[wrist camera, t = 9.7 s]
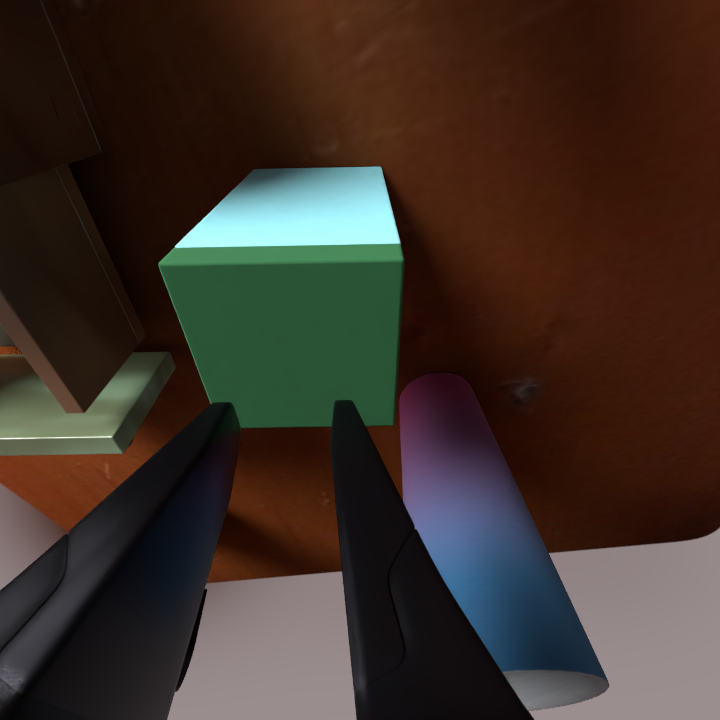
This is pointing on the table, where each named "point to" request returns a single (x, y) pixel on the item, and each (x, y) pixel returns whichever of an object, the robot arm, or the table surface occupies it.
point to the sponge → (294, 296)
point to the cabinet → (42, 94)
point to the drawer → (67, 329)
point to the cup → (490, 545)
